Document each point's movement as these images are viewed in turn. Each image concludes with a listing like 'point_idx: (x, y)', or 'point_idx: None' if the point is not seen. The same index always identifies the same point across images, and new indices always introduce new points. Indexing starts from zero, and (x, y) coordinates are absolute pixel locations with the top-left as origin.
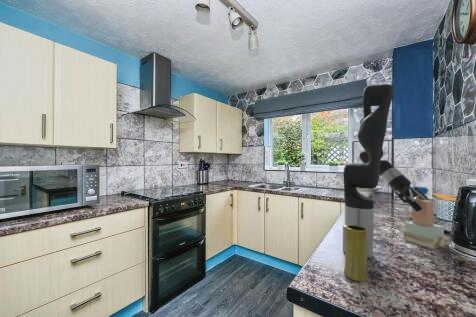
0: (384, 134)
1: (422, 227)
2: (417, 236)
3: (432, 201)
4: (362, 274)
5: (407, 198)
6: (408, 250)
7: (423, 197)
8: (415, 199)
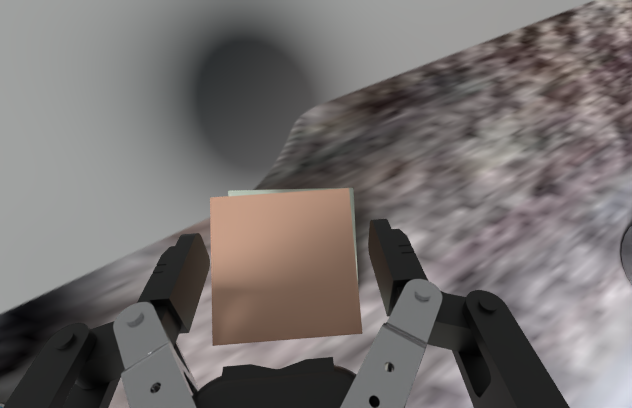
0: None
1: (354, 224)
2: None
3: (226, 197)
4: None
5: (509, 311)
6: (453, 216)
7: (143, 330)
8: (296, 334)
